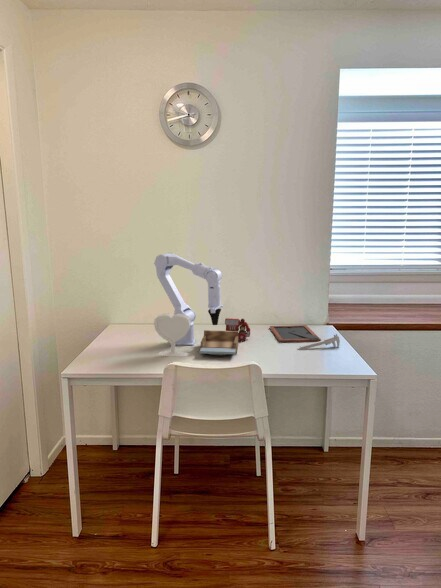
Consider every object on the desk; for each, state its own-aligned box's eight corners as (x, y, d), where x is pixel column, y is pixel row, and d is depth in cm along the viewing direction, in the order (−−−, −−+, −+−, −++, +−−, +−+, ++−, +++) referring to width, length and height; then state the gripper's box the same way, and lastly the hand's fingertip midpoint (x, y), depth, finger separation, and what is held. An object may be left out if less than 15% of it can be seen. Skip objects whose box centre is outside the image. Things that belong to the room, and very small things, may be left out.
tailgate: (201, 350, 184) (199, 354, 178) (201, 347, 184) (199, 351, 178) (235, 351, 182) (234, 355, 176) (235, 348, 182) (234, 352, 176)
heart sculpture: (154, 355, 182) (153, 315, 178) (157, 351, 187) (156, 312, 183) (189, 356, 180) (188, 316, 177) (191, 352, 185) (190, 313, 181)
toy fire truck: (249, 341, 200) (249, 320, 198) (224, 340, 202) (224, 320, 200) (250, 337, 207) (250, 317, 205) (225, 336, 208) (225, 316, 206)
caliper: (338, 346, 193) (338, 333, 192) (339, 347, 192) (340, 334, 191) (297, 349, 189) (297, 336, 188) (298, 350, 188) (298, 337, 187)
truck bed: (200, 353, 184) (200, 338, 183) (204, 344, 196) (204, 330, 195) (236, 354, 183) (236, 339, 181) (238, 345, 194) (238, 331, 193)
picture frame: (320, 342, 200) (306, 328, 224) (320, 338, 199) (306, 324, 224) (279, 343, 198) (269, 329, 223) (279, 339, 198) (269, 325, 222)
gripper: (221, 299, 181) (222, 329, 184) (224, 292, 195) (225, 320, 198) (205, 299, 182) (206, 329, 185) (209, 292, 196) (210, 320, 199)
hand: (215, 324), depth 191 cm, fingers closed
